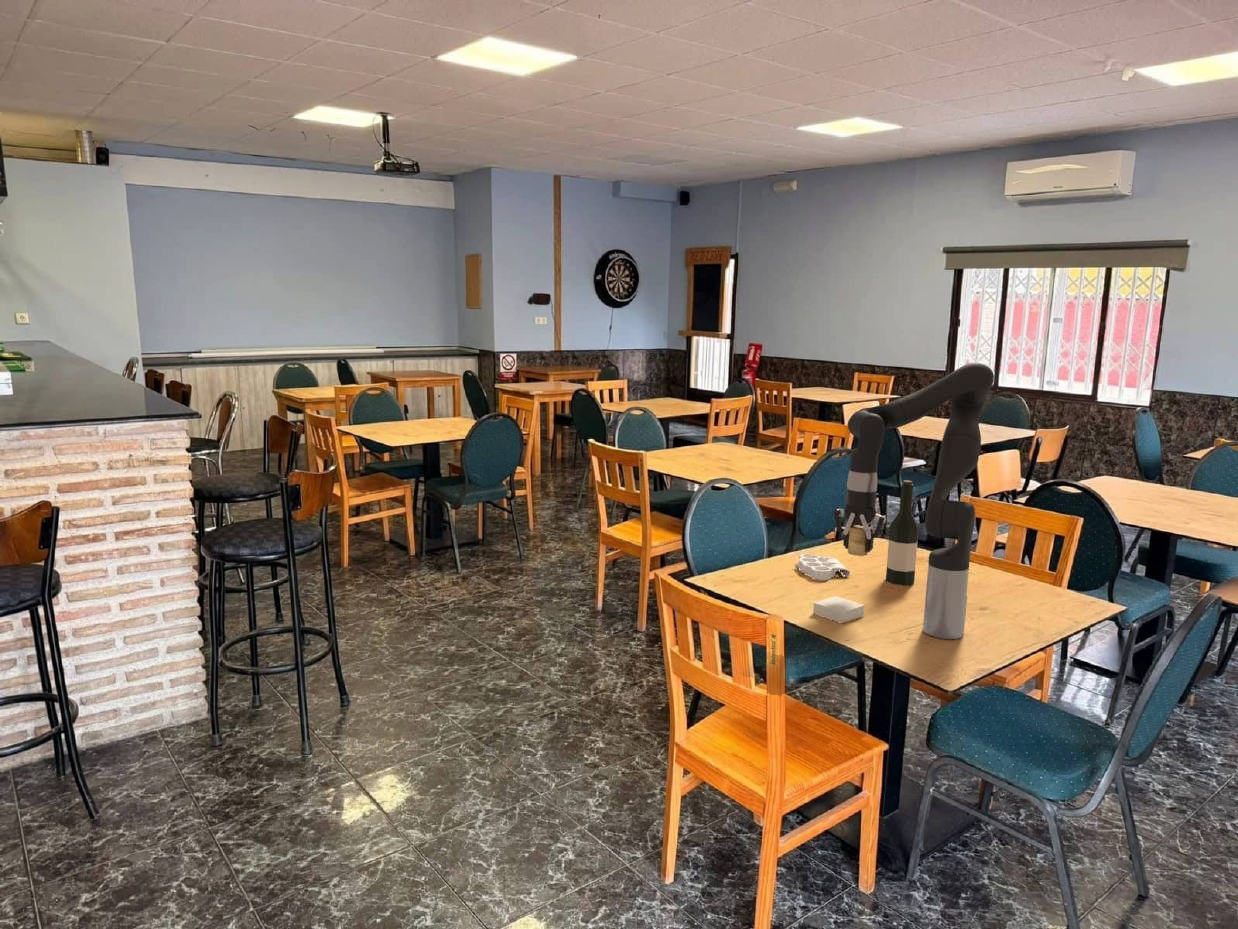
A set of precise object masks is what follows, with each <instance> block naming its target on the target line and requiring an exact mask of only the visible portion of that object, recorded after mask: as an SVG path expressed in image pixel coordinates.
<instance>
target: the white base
mask: <svg viewBox="0 0 1238 929" xmlns="http://www.w3.org/2000/svg"><path fill="white" fill-rule="evenodd" d="M864 611H865V605H864V604H861V603H858V602H855V601H852V600H849V599H846V598H844V597H840V596H837V595H834V596H831V597H827V598H824V599H821V600H818V601H815V602H813V611H812V614H813V613H815V614H814V615H816V614H817V615H816V616H818V615H819V616H818V617H821V616H823V617H822V618H824V617H825V618H824V619H826V620H829V619H832V620H834V621H833V622H835V621H837V622H836V623H838V624H840V623H843V624H845V623H844V622H846V623H848V622H850V621H849V620H851V621H853V620H852V619H854V620H857V619H860V618H862V616H863V617H864ZM859 617H860V618H859ZM856 618H857V619H856ZM832 620H831V621H832ZM847 621H848V622H847Z"/></svg>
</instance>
